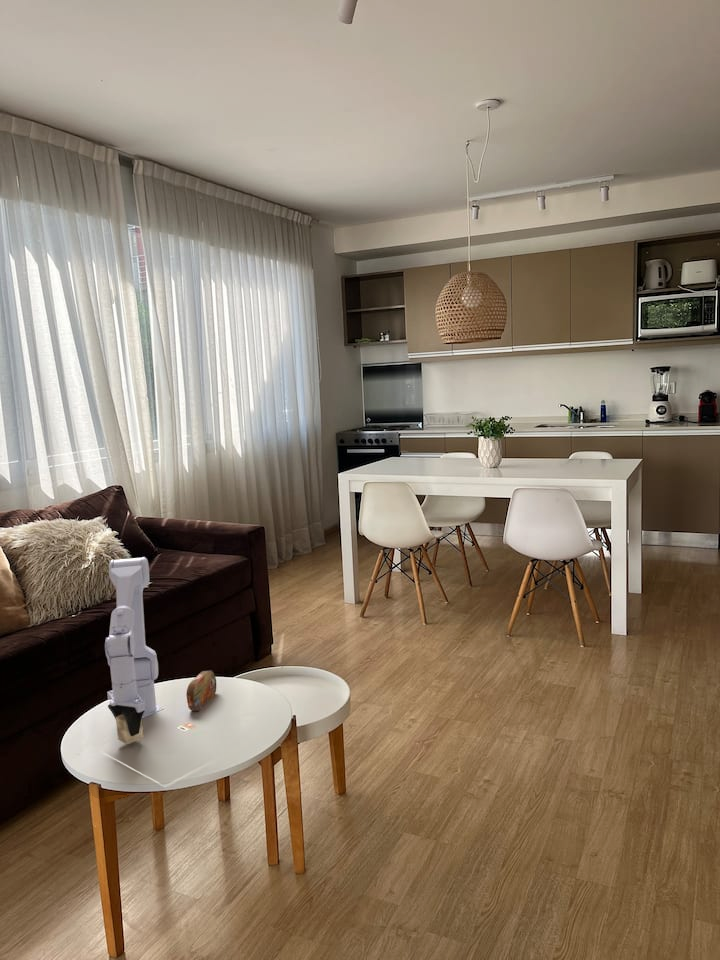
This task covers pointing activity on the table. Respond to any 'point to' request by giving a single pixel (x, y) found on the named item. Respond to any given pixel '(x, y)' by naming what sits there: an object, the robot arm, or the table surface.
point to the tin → (201, 690)
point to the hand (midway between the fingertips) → (129, 731)
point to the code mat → (185, 728)
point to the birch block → (126, 731)
